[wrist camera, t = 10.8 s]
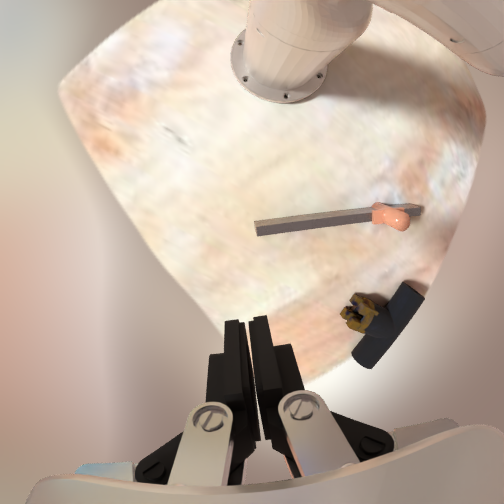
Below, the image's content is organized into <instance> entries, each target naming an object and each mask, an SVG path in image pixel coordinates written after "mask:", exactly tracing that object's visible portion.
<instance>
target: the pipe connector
mask: <svg viewBox="0 0 504 504" xmlns="http://www.w3.org/2000/svg"><path fill="white" fill-rule="evenodd" d="M424 300H425V298H424V297H423V296H422V295H421V294H419V293H418V292H417V291H416V290H414V289H413V288H411V287H410V286H408V285H407V284H405V283H404V282H402V283H401V285H400V286H399V288H398V289H397V291H396V292H395V294H394V295H393V297H392V298H391V300H390V301H389V303H388V304H387V306H386V307H385V308H383V307H381V306H379V305H377V304H375V303H373V302H372V301H371V300H369V299H367V298H365V297H360V296H358V295H356V294H353V296H352V297H351V299H350V300H349V301H350V302H351V303H352V304H353V306H352V307H351V309H347V308H345V307H344V309H343V310H342V312H341V313H340V315H341V316H342V318H343V319H345V320H347V322H346V324H347V326H348V327H349V328H350V329H352V330H355V331H358V332H360V333H363V334H364V333H365V336H364V337H363V338H362V339H361V341H360V342H359V343H358V344H357V346H356V347H355V348H354V349H353V351H352V353H351V354H352V356H353V358H354V359H355V360H356V361H357V362H358V363H359V364H360V365H361V366H363V367H365V368H367V369H372V368H373V367H374V366H375V364H376V363H377V362H378V361H379V360H380V359H381V357H382V356H383V355H384V354H385V352H386V351H387V350H388V349H389V348H390V346H391V345H392V344H393V342H394V341H395V340H396V339H397V337H398V336H399V335H400V333H401V332H402V331H403V329H404V328H405V327H406V325H407V324H408V323H409V321H410V320H411V319H412V317H413V315H414V314H415V313H416V311H417V310H418V309H419V307H420V306H421V304H422V303H423V301H424Z"/></svg>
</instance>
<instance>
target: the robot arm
mask: <svg viewBox="0 0 504 504" xmlns="http://www.w3.org/2000/svg"><path fill="white" fill-rule="evenodd" d="M373 4H375V5H377V6H379V7H381V8H383V9H385V10H386V11H388V12H390V13H394V14H396V15H398V16H400V17H401V18H403V19H405V20H407V21H408V22H410V23H411V24H413V25H415V26H416V27H418V28H419V29H421V30H423V31H424V32H426V33H427V34H429V35H430V36H431V37H433V38H434V39H436V40H437V41H439V42H440V43H441V44H443V45H444V46H445V47H447V48H448V49H449V50H451V51H452V52H453V53H455V54H456V55H457V56H459V57H460V58H461V59H463V60H464V61H466V62H467V63H468V64H470V65H471V66H473V67H475V68H476V69H478V70H480V71H482V72H485V73H487V74H490V75H494V76H504V0H250V2H249V9H248V17H247V25H246V29H245V30H243V31H242V32H241V33H240V34H239V35H238V37H237V38H236V39H235V41H234V43H233V46H232V49H231V56H230V60H231V67H232V70H233V73H234V75H235V77H236V79H237V80H238V82H239V83H240V84H241V85H242V86H243V87H244V88H245V89H246V90H247V91H249V92H250V93H251V94H253V95H255V96H257V97H259V98H261V99H264V100H267V101H270V102H277V103H290V102H295V101H299V100H301V99H304V98H306V97H308V96H309V95H311V94H312V93H314V92H315V91H316V90H317V89H318V88H319V87H320V86H321V84H322V83H323V81H324V79H325V77H326V74H327V70H328V63H329V62H331V61H332V60H333V59H334V58H335V57H336V56H338V55H339V54H340V53H341V52H342V51H343V50H345V49H346V48H347V47H348V46H349V45H351V44H352V43H353V42H354V41H355V40H356V39H358V38H359V37H360V36H361V35H362V34H363V33H364V31H365V30H366V29H367V27H368V25H369V23H370V21H371V16H372V10H373ZM238 44H242V45H238ZM317 76H319V77H320V78H318V77H317ZM244 79H247V82H244V81H243V80H244ZM285 95H286V96H287V99H286V98H284V96H285ZM253 319H254V321H249V332H250V341H251V351H252V360H253V368H252V363H251V357H250V352H249V346H248V340H247V335H246V329H245V323H244V322H241V323H239V320H238V319H237V320H229V321H225V334H224V353H220V354H210V356H209V365H208V378H207V390H206V391H207V392H206V403H204V404H201V405H199V406H197V407H195V408H194V409H193V410H192V411H191V413H190V414H189V416H188V419H187V422H186V425H185V429H184V431H183V432H182V433H180V434H179V435H177V436H176V437H175V438H173V439H172V440H171V441H169V442H168V443H166V444H165V445H163V446H162V447H160V448H159V449H157V450H156V451H154V452H153V453H151V454H150V455H148V456H147V457H145V458H144V459H142V460H141V461H140V462H139V463H135V464H134V463H133V462H119V463H96V464H95V463H94V464H83V465H82V466H80V467H78V469H77V470H76V471H75V474H60V475H54V476H49V477H45V478H43V479H41V480H40V481H38V482H37V483H36V484H35V486H34V487H33V489H32V490H31V492H30V494H29V496H28V498H27V500H26V503H25V504H504V434H503V433H502V432H501V431H500V430H498V429H497V428H495V427H493V426H490V425H469V426H463V427H459V426H458V424H457V423H456V422H455V421H454V420H452V419H448V418H444V419H438V420H434V421H430V422H425V423H421V424H417V425H411V426H406V427H401V428H396V429H394V431H391V432H386V431H384V430H382V429H379V428H376V427H373V426H370V425H367V424H364V423H361V422H359V421H356V420H353V419H350V418H347V417H345V416H342V415H339V414H337V413H334V412H332V411H329V409H328V407H327V405H326V404H325V402H324V401H323V399H322V398H321V397H320V395H318V394H316V393H315V392H312V391H308V390H305V389H304V385H303V382H302V379H301V375H300V372H299V369H298V365H297V362H296V359H295V355H294V352H293V349H292V346H291V344H285V345H279V346H273V343H272V338H271V333H270V329H269V324H268V319H267V315H265V316H258V317H253ZM253 369H254V375H253ZM254 378H255V383H254ZM255 386H256V392H255ZM256 394H257V399H258V404H259V410H260V414H261V420H262V425H263V430H264V435H265V439H266V440H269V439H271V442H272V448H273V449H274V450H276V451H278V452H280V453H281V454H283V455H284V459H285V462H286V464H287V467H288V469H289V472H290V475H291V477H292V479H288V480H282V481H275V482H268V483H259V484H248V485H245V479H246V470H247V458H248V457H249V456H250V455H251V454H252V453H253V452H254V449H256V442H255V441H261V437H260V428H259V419H258V410H257V401H256Z"/></svg>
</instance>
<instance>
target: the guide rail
mask: <svg viewBox="0 0 504 504" xmlns="http://www.w3.org/2000/svg"><path fill="white" fill-rule="evenodd" d="M420 213H421V207H418V206H416V205H413V204H410V203H408V204H398V205H384V204H382V203H379V202H377V203H374V204H373V205H372V207H368V208H358V209H349V210H340V211H331V212H323V213H315V214H306V215H298V216H291V217H283V218H275V219H268V220H260V221H254V224H255V231H256V234H257V236H263V235H270V234H278V233H285V232H292V231H300V230H307V229H315V228H322V227H330V226H338V225H345V224H353V223H361V222H369V221H372V223H373V224H381V223H385V224H387V225H389V226H391V227H393V228H395V229H397V230H399V231H405V230H406V229H407V228H408V227H409V225H410V216H419V215H420Z"/></svg>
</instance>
